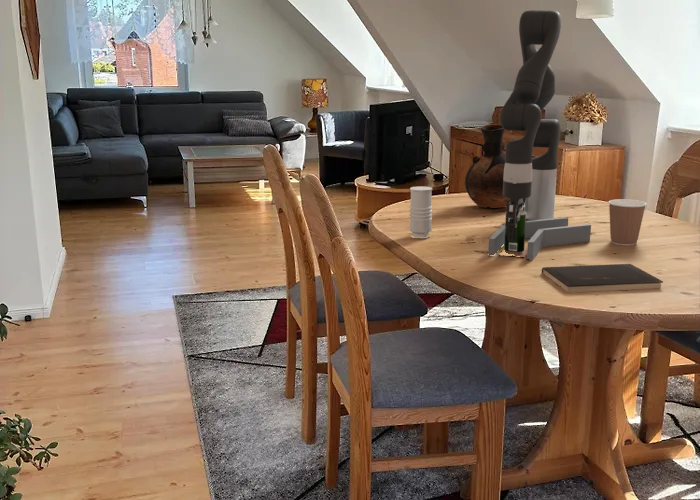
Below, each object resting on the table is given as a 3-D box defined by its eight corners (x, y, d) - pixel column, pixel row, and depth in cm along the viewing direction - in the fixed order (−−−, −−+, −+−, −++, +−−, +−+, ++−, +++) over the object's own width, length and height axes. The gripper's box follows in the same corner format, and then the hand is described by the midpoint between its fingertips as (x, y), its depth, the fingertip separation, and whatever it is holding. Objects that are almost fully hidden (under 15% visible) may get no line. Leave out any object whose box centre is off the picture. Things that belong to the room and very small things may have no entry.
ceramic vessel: (513, 202, 268) (517, 122, 260) (528, 211, 251) (533, 126, 243) (458, 203, 266) (461, 123, 258) (470, 213, 249) (473, 127, 241)
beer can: (524, 255, 193) (526, 212, 190) (504, 254, 194) (506, 211, 191) (523, 250, 198) (526, 208, 195) (504, 249, 199) (506, 207, 196)
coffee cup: (641, 239, 209) (645, 200, 206) (643, 248, 200) (647, 206, 197) (604, 237, 213) (608, 198, 210) (605, 245, 203) (608, 204, 200)
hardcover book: (662, 290, 165) (663, 281, 164) (567, 295, 162) (567, 285, 162) (628, 271, 180) (629, 262, 180) (541, 275, 178) (541, 266, 177)
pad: (504, 249, 200) (504, 248, 200) (529, 252, 197) (529, 250, 197) (498, 255, 194) (498, 254, 194) (524, 258, 191) (524, 256, 191)
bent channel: (461, 244, 207) (462, 227, 206) (564, 232, 219) (565, 217, 218) (505, 263, 186) (506, 245, 185) (615, 250, 198) (617, 232, 197)
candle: (434, 235, 218) (435, 187, 214) (427, 240, 212) (428, 190, 208) (413, 233, 221) (414, 185, 217) (405, 238, 215) (406, 189, 211)
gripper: (509, 174, 198) (506, 231, 202) (497, 182, 186) (495, 242, 190) (536, 176, 195) (533, 233, 199) (526, 184, 183) (523, 245, 187)
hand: (514, 237), depth 195 cm, fingers open, 8 cm apart
